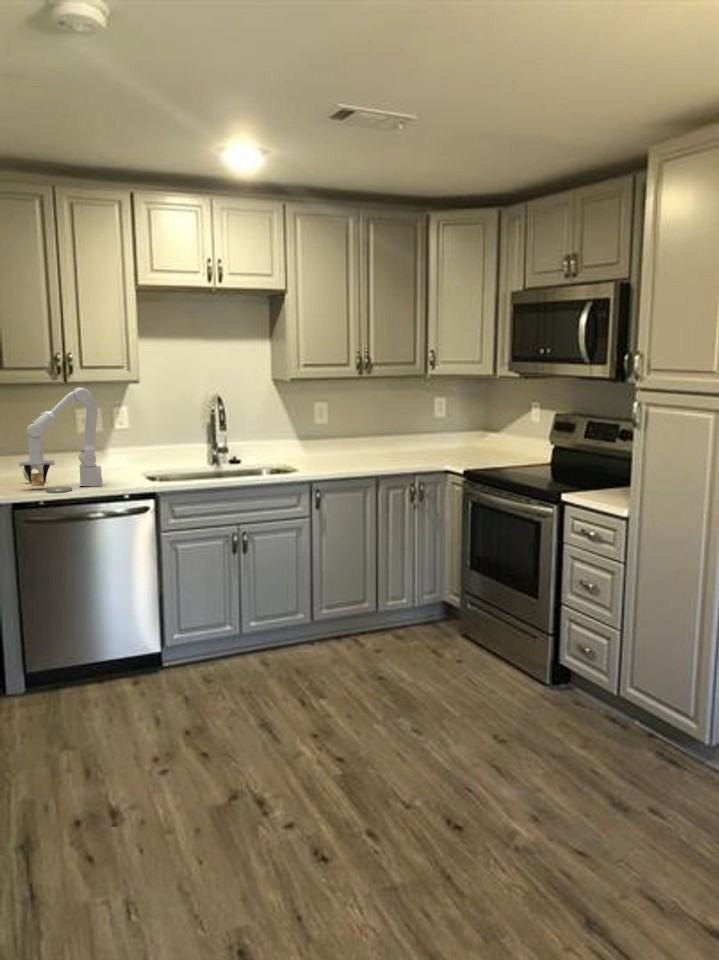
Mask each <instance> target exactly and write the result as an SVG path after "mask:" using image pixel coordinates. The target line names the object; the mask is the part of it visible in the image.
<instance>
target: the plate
mask: <svg viewBox="0 0 719 960" xmlns="http://www.w3.org/2000/svg"><path fill="white" fill-rule="evenodd" d="M44 490H45V491H46V492H45V493H47V492H48V493H47V494H64V493H68V492H69V491H70V492H72V491H73V487H72V486H53V487H46V488H45V489H44ZM71 490H72V491H71Z"/></svg>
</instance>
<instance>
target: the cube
mask: <svg viewBox="0 0 719 960" xmlns="http://www.w3.org/2000/svg"><path fill="white" fill-rule="evenodd" d="M45 485H46V482H44V473H39V472H36V473H34V472H31V487H44V486H45Z"/></svg>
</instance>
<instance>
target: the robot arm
mask: <svg viewBox="0 0 719 960" xmlns="http://www.w3.org/2000/svg"><path fill="white" fill-rule="evenodd" d="M77 402H78V403H80V404H81V405H82V406H83V407H84V408H85V422H84V431H83V432H84V434H83V441H82V442H83V443H82V446H81V451H80V452H79V454H78V460H79V462H80V464H79V466H78V467H79V479H80V480H79V481H80V483H79V485H78V487H79V486H90V487H102V485H103V476H102V466H101V465H97V464H96V462H97V456H96V454H95V453H96V449H95V447H96V446H95V441H96V433H97V423H98V414H99V413H98V412H99V405H98V403H97V402H96V400H95V398H94V395H93V394H92V393H91V392H90V391H89V390H88V389H86V388H85V387H80V386H79V387H75V388H74V389H73V391H70V392H69V393H68V394H66V395H65V396H64V397H63V398H62V399H61V400H59V402H58V403H57V404H56V405H54V407H53V408H52V409H51V410H50V411H49V410H45V411H44V412H43V411H42V412H41V413H40V416H39V417H38V418H36V420H32V423H31V424H29V425H28V426H27V428H26V434H27V435H28V438H27V439H28V441H27V443H28V444H27V445H28V455H29V456H28V457H29V460H25V461H24V460H23V461H18V467H19V468H21V467H24V468H23V470H24V469H25V471H26V473H27V475H28V477H29V480H30V482H29V483H31V474H32V470H31V466H42V465H44V466H43V472H44V482H45V483H46V481H47V475H48V472H49V469H50V466H55V464H56V463H55V461H56V460H55V459H53V460H48V459H47V460H45V459H44V447H43V440H42V438H43V437H42V435H43V433H44V431H46V430H47V429H48V428H50V426H51V425H52V424H54V423H55V422H56V418H57V416H58V415H60V413H62V412H63V411H64V410H65V409H66V408H68V406H70V405H73V404H77ZM32 464H34V465H32Z"/></svg>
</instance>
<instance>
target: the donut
mask: <svg viewBox="0 0 719 960" xmlns="http://www.w3.org/2000/svg"><path fill="white" fill-rule="evenodd" d="M32 465H34V464H32ZM43 466H44V465H42V466H31V471H33V470H36V471H38V473H44V472H43ZM22 473H23V477H24V479H25V480H26V481H28V482H29V483H30V480H29V477H28V475H27V473H26V471H25V469H24V468H23V472H22Z"/></svg>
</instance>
